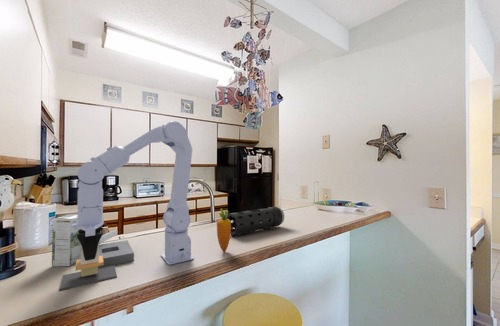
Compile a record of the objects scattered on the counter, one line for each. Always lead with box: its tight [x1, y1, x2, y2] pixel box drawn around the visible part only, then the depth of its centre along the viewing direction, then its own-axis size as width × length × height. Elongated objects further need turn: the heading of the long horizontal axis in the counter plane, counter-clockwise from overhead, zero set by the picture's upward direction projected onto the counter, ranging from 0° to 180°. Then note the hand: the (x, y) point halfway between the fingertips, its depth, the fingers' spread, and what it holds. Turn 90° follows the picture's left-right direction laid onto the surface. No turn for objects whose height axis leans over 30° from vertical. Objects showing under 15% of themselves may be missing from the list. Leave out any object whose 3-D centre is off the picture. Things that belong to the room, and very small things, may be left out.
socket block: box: [98, 239, 135, 268], centre depth 77 cm, size 16×12×2 cm
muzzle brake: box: [226, 206, 285, 237], centre depth 108 cm, size 10×28×10 cm, turn 126°
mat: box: [59, 265, 118, 291], centre depth 63 cm, size 9×12×1 cm
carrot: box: [216, 208, 232, 253], centre depth 81 cm, size 5×5×15 cm
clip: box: [99, 229, 118, 245], centre depth 84 cm, size 2×15×3 cm, turn 1°
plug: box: [74, 243, 103, 277], centre depth 63 cm, size 6×6×8 cm
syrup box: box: [51, 214, 81, 267], centre depth 73 cm, size 6×6×14 cm
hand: (90, 256), depth 63 cm, fingers open, 4 cm apart
